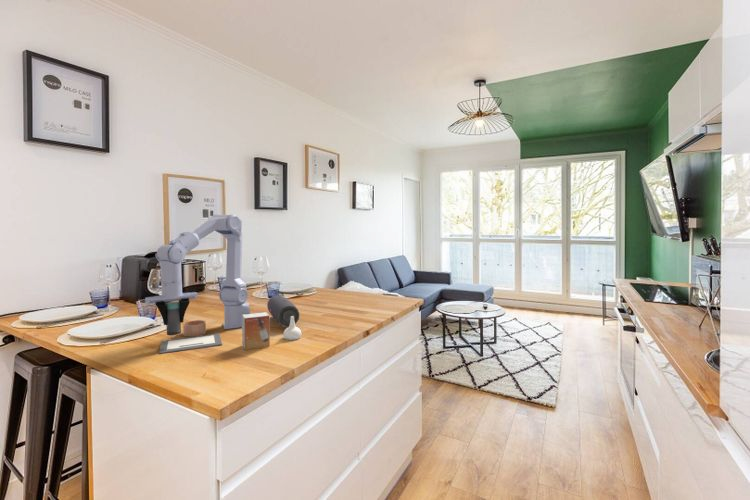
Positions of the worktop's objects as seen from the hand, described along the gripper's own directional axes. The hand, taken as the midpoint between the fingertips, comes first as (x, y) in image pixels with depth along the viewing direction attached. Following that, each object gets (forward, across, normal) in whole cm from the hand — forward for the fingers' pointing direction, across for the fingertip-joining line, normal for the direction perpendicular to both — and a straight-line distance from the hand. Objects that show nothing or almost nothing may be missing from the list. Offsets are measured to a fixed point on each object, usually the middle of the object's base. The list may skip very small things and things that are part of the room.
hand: (173, 323), depth 113 cm
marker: (+3, 0, 0) cm, 3 cm away
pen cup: (+8, -8, -12) cm, 16 cm away
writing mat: (+8, -5, 0) cm, 10 cm away
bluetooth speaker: (+8, -40, -6) cm, 41 cm away
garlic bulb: (+8, -35, +14) cm, 39 cm away
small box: (+8, -22, +15) cm, 28 cm away
